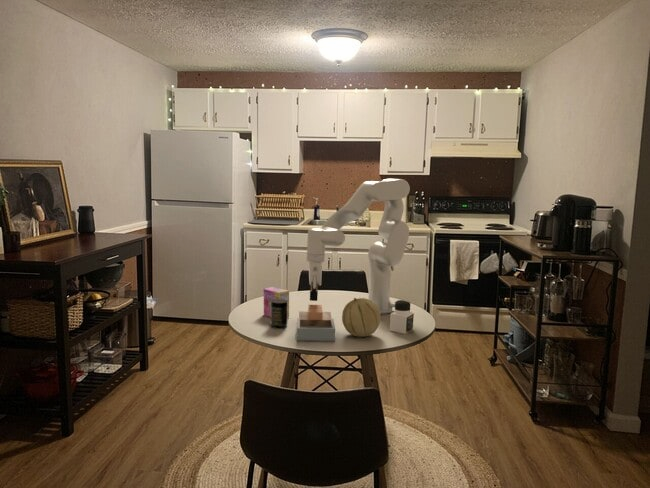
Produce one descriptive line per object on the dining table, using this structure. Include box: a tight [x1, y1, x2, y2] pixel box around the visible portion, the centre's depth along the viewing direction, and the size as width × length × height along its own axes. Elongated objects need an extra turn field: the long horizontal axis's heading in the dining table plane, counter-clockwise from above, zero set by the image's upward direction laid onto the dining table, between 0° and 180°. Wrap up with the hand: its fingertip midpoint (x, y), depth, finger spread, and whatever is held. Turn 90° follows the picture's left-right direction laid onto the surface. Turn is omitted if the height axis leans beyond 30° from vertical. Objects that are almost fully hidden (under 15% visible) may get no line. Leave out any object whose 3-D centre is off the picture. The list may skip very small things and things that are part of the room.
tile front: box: [307, 308, 324, 320], centre depth 197 cm, size 6×6×3 cm
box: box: [263, 286, 290, 319], centre depth 212 cm, size 10×6×12 cm, turn 47°
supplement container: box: [270, 299, 288, 329], centre depth 198 cm, size 7×7×10 cm
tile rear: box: [307, 304, 323, 311], centre depth 203 cm, size 6×6×3 cm
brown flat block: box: [298, 310, 333, 327], centre depth 201 cm, size 13×12×4 cm
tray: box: [296, 317, 336, 343], centre depth 188 cm, size 14×14×5 cm
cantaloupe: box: [341, 297, 382, 338], centre depth 189 cm, size 15×15×15 cm
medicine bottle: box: [389, 299, 415, 335], centre depth 197 cm, size 7×7×12 cm
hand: (313, 300), depth 211 cm, fingers closed
